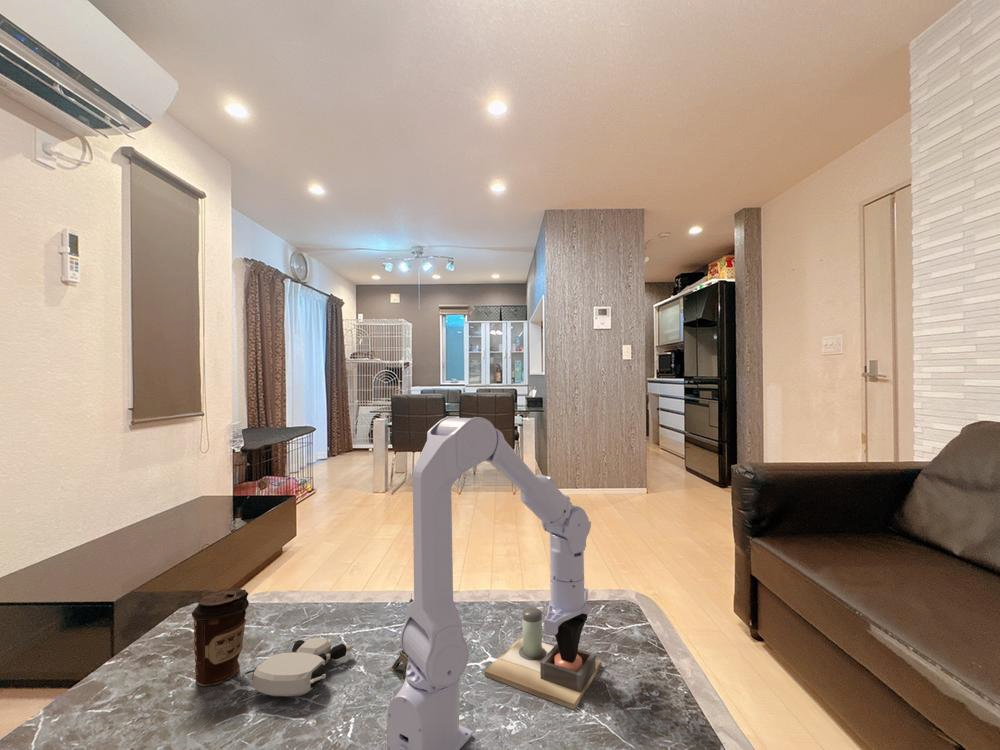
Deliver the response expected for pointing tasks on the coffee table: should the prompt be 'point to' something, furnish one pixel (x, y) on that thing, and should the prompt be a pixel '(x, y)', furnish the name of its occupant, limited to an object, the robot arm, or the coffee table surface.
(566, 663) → the button
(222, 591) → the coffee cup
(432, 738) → the robot arm
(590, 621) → the coffee table surface
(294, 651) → the robot toy
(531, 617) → the green capped bottle
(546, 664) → the wooden base tray
